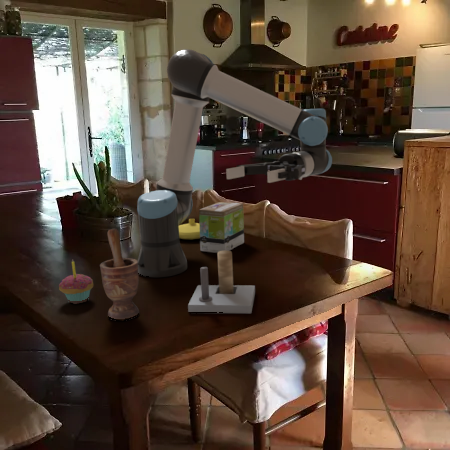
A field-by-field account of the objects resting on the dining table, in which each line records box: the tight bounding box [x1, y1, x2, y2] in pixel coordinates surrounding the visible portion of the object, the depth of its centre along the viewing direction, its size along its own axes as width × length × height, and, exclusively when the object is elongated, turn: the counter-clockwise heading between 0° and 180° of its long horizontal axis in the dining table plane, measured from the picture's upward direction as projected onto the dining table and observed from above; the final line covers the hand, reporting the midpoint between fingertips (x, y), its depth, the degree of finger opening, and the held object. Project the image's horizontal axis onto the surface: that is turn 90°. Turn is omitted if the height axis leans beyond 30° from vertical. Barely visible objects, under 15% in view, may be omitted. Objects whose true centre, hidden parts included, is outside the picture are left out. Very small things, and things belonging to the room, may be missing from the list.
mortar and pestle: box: [99, 228, 140, 319], centre depth 114 cm, size 12×9×20 cm
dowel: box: [216, 250, 234, 294], centre depth 121 cm, size 4×4×12 cm
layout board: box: [187, 266, 256, 314], centre depth 119 cm, size 15×13×10 cm
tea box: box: [198, 201, 245, 254], centre depth 166 cm, size 15×10×15 cm, turn 153°
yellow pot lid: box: [179, 218, 200, 240], centre depth 182 cm, size 16×16×7 cm
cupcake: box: [58, 259, 94, 301], centre depth 124 cm, size 9×8×12 cm
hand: (247, 175), depth 123 cm, fingers open, 13 cm apart
